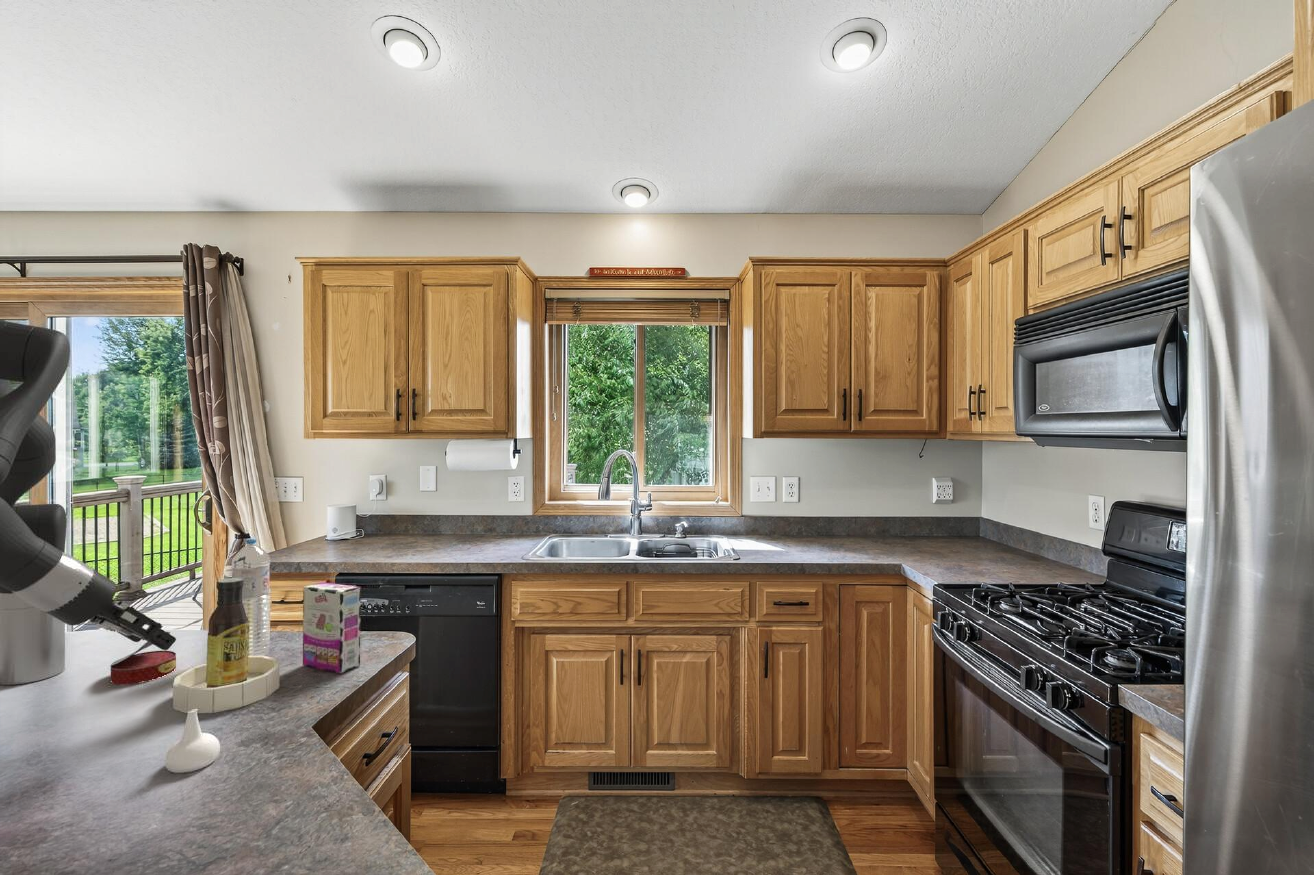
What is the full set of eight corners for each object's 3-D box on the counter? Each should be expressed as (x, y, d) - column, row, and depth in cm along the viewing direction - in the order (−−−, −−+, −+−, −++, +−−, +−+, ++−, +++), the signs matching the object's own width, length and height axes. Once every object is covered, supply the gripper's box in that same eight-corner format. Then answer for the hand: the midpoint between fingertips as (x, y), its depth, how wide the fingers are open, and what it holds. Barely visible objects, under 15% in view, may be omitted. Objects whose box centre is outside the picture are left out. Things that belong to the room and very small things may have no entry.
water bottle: (255, 662, 125) (256, 542, 125) (223, 662, 125) (223, 541, 125) (277, 650, 132) (277, 536, 132) (246, 650, 132) (246, 536, 132)
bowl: (154, 702, 107) (154, 679, 107) (246, 670, 121) (246, 650, 121) (206, 720, 100) (206, 696, 100) (297, 685, 114) (297, 664, 114)
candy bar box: (362, 666, 124) (362, 586, 124) (341, 675, 119) (341, 592, 119) (322, 657, 128) (323, 580, 128) (301, 666, 124) (301, 586, 123)
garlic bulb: (205, 751, 92) (203, 698, 92) (230, 758, 89) (227, 703, 89) (156, 772, 86) (153, 716, 86) (180, 780, 83) (178, 721, 84)
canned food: (134, 709, 114) (103, 672, 110) (116, 690, 120) (86, 654, 115) (198, 665, 122) (172, 629, 118) (178, 649, 128) (152, 614, 123)
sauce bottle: (225, 698, 106) (226, 585, 106) (196, 694, 108) (197, 583, 107) (257, 683, 113) (258, 577, 112) (229, 679, 114) (230, 575, 114)
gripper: (113, 571, 89) (199, 626, 99) (65, 561, 95) (151, 614, 105) (66, 617, 84) (161, 669, 95) (18, 604, 90) (113, 655, 101)
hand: (156, 640), depth 100 cm, fingers open, 8 cm apart
